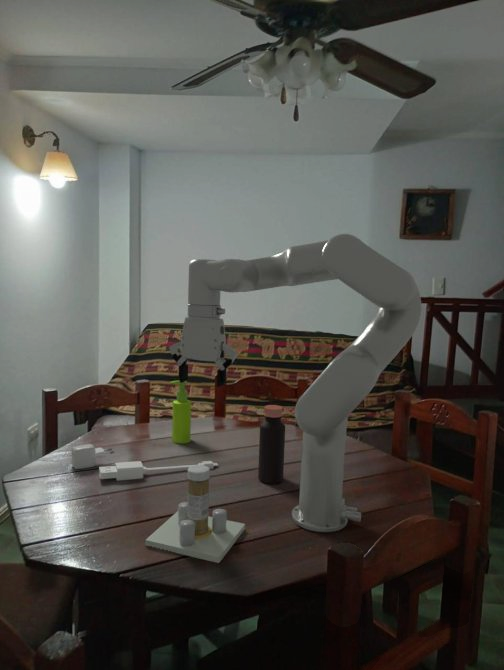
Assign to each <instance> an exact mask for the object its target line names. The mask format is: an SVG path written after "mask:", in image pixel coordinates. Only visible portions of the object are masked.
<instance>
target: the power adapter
mask: <svg viewBox="0 0 504 670" xmlns="http://www.w3.org/2000/svg"><path fill="white" fill-rule="evenodd" d="M113 454H115V450H113V448H110V447H109V448H103V447H95V446H94V444H92V443H87V444H86V443H85V444H80V445H74V446H72V447H71V465H72V467H73V468H74V469H75V470H83V469H90V468H93V467H95V466H96V460H97V459H101V458H105V457H106V455H113Z"/></svg>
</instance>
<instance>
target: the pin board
mask: <svg viewBox="0 0 504 670" xmlns="http://www.w3.org/2000/svg"><path fill="white" fill-rule="evenodd" d="M187 503H188V501H183V502H180V503H178V506H177V507H178V508H177V511H176V512H175V513H173V515H171V516H170V518H168V519H167V520H166V521H165V522H164V523H163V524H162V525H160V526H159V527H158V528H157V529H156V530H155V531H153V533H151V535H149V536H148V537H147V538H146V539H145V545H147V546H146V547H149V546H152V547H151V548H154V547H156V548H155V549H158V548H160V549H159V550H162V549H164V550H163V551H166V550H168V551H167V552H170V551H171V553H174V552H175V553H174V554H179V555H183V556H186V557H187V556H188V557H192V558H195V559H199V560H204V561H207V562H212V563H217V564H219V563H220V562H221V561H222V560H223V559H224V557H225V556H226V555H227V553H229V551H230V550H231V548H232V547H233V545H235V543H236V542H237V541H238V539H239V538H240V536H241V535H242V534H243V532H244V531H245V530H246V523H242V522H238V521H233V520H228V512H227V510H226V509H223V508H216V509H213V510H212V516H210V515H209V516H208V528H209V529H208V531H207V532H206V533H205V534H202V535H195V522H194V521H193V520H188V516H187Z"/></svg>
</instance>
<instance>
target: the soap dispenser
mask: <svg viewBox="0 0 504 670" xmlns="http://www.w3.org/2000/svg"><path fill="white" fill-rule="evenodd" d="M169 384H171V385H175V384H179V389H177V390H176V400H173V401H172V424H171V425H172V430H171V431H172V435H171V438H172V442H173V443H174V444H188V443H189V442H191V426H192V425H191V424H192V419H191V418H192V401H191V400H189V399H188V390H186V384H188V380H187V381H185V382H183V383H181V382H180V379H179V380H173V381H170V382H169Z"/></svg>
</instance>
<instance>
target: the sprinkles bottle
mask: <svg viewBox="0 0 504 670" xmlns="http://www.w3.org/2000/svg"><path fill="white" fill-rule="evenodd" d="M193 465H194V466H191V467H189V468H187V475H186V477H187V481H188V483H187V502H188V503H187V516H188V520H193V521H194V522H195V535H202V534H205V533H206V532H207V531H208V529H209V528H208V516H209V517H210V514H209V513H210V510H209V509H210V491H209V489H210V487H209V486H210V482H209V481H210V477H211V469H209V467H207V466H204V465H198V464H193Z"/></svg>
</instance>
